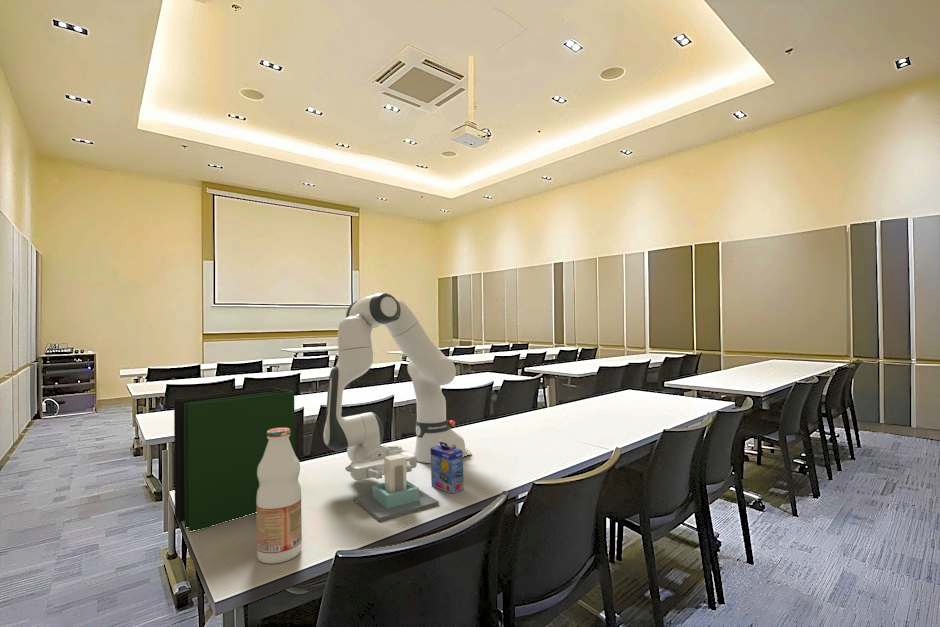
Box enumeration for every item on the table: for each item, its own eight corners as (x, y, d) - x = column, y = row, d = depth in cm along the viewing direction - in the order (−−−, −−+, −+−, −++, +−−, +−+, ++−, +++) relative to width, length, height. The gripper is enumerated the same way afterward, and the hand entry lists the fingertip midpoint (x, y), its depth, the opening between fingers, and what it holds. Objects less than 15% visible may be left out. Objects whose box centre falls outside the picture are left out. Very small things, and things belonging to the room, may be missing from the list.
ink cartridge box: (430, 486, 145) (429, 440, 146) (443, 481, 149) (442, 436, 149) (451, 494, 138) (450, 446, 139) (464, 489, 142) (463, 442, 142)
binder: (190, 533, 115) (189, 405, 115) (173, 517, 125) (172, 398, 125) (295, 501, 135) (294, 391, 135) (273, 489, 145) (272, 387, 145)
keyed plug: (400, 494, 136) (399, 454, 136) (408, 500, 132) (407, 458, 132) (384, 498, 133) (384, 457, 133) (392, 504, 129) (391, 461, 129)
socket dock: (409, 486, 145) (409, 472, 145) (438, 505, 130) (438, 489, 131) (354, 500, 135) (353, 484, 135) (379, 521, 120) (379, 504, 120)
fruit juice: (260, 569, 98) (258, 437, 98) (254, 551, 106) (253, 428, 106) (306, 556, 103) (304, 430, 103) (297, 540, 111) (295, 423, 111)
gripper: (343, 456, 139) (360, 468, 127) (404, 445, 150) (425, 455, 139) (343, 477, 139) (360, 491, 127) (404, 464, 150) (425, 476, 139)
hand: (395, 472), depth 133 cm, fingers open, 8 cm apart
